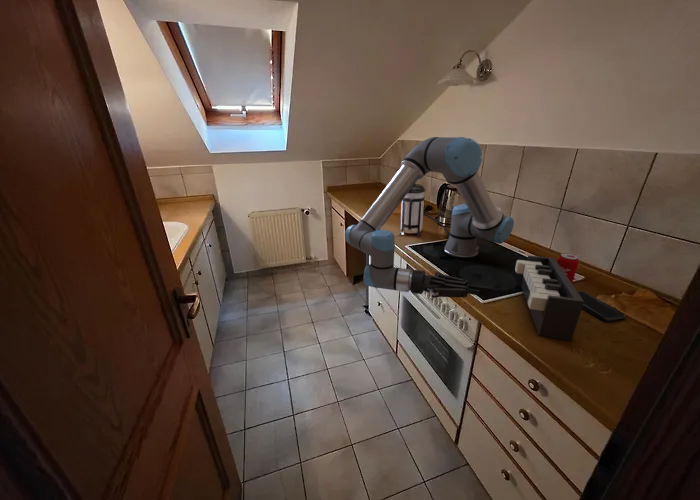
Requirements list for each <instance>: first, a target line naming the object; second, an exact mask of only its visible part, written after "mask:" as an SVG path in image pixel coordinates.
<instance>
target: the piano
mask: <svg viewBox="0 0 700 500" xmlns="http://www.w3.org/2000/svg"><path fill="white" fill-rule="evenodd" d="M526 261H534V262H541V263H542V265H527V264H525V267H524V272H523V274H522V276H523V277H522V281H521V285H520V288H521V290H522V293H523V296H524V299H525V301H526V304H527V307H528V310H529V312H530V315H531V318H532V320H533V324H534V325H535V328H536V331H537V333H538V336H539V337H545V338H550V339H551V338H552V339H557V340H558V339H559V340H564V341H569V342H571V341H572V340H573V337H574V334H575V331H576V327H577V324H578V322H579V318H580V316H581V312H582V310H583V308H582V306H583V303H584V301H583V299H582V298H581V297H580V295H579V294H578V292H579V291H577V289H576V288H575V286H574V285H573V283H571V282H570V280H569V279H568V278H567V276H566V275H565V273H564V272H563V270H562V269H561V267H560V266H559V264H558V263H557V260H556V259H555V257H550V256H538V255H529V254H528V255H527V259H526ZM530 292H533V293H541V294H549V295H548V298H547V302H546V306H545V309H544V311H540V310H533V309H529V306H528V300H529V296H530ZM552 295H557V296H552Z"/></svg>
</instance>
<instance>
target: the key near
mask: <svg viewBox="0 0 700 500" xmlns="http://www.w3.org/2000/svg"><path fill="white" fill-rule="evenodd" d="M548 295H549V294H541V293H533V292H530V296H529V300H528V304H527V307H528V306H529V307H528V310H529V309H533V310H540V311H544V309H545V306H546V302H547V298H548ZM552 296H557V295H552Z"/></svg>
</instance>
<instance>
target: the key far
mask: <svg viewBox="0 0 700 500" xmlns="http://www.w3.org/2000/svg"><path fill="white" fill-rule="evenodd" d="M525 264H527V265H542V263H541V262H534V261H527V260H525V259H517V260H516V262H515V266H514V267H515V268H514V271H515V273H516V274H520V275H523V272H524V267H525Z"/></svg>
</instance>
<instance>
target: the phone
mask: <svg viewBox="0 0 700 500" xmlns="http://www.w3.org/2000/svg"><path fill="white" fill-rule="evenodd" d="M577 292H578V294H579V295H580V297H581V298H582V299H583V301H584V303H583V306H582V310H584V311H586V312H588V313H589V314H591V315H593V316H594V317H596V318H598V319H599V320H601V321H603V322H605V323H606V322H607V323H610V322H616V321H621V320H624V319H625V318H626V314H625V313H624V312H622V311H620V310H618V309H616V308H615V307H613V306H611V305H609V304H607V303H605V302H603V301H602V300H600V299H598V298H596V297H595V296H592V295H591V294H589V293H587V292H585V291H577Z"/></svg>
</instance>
